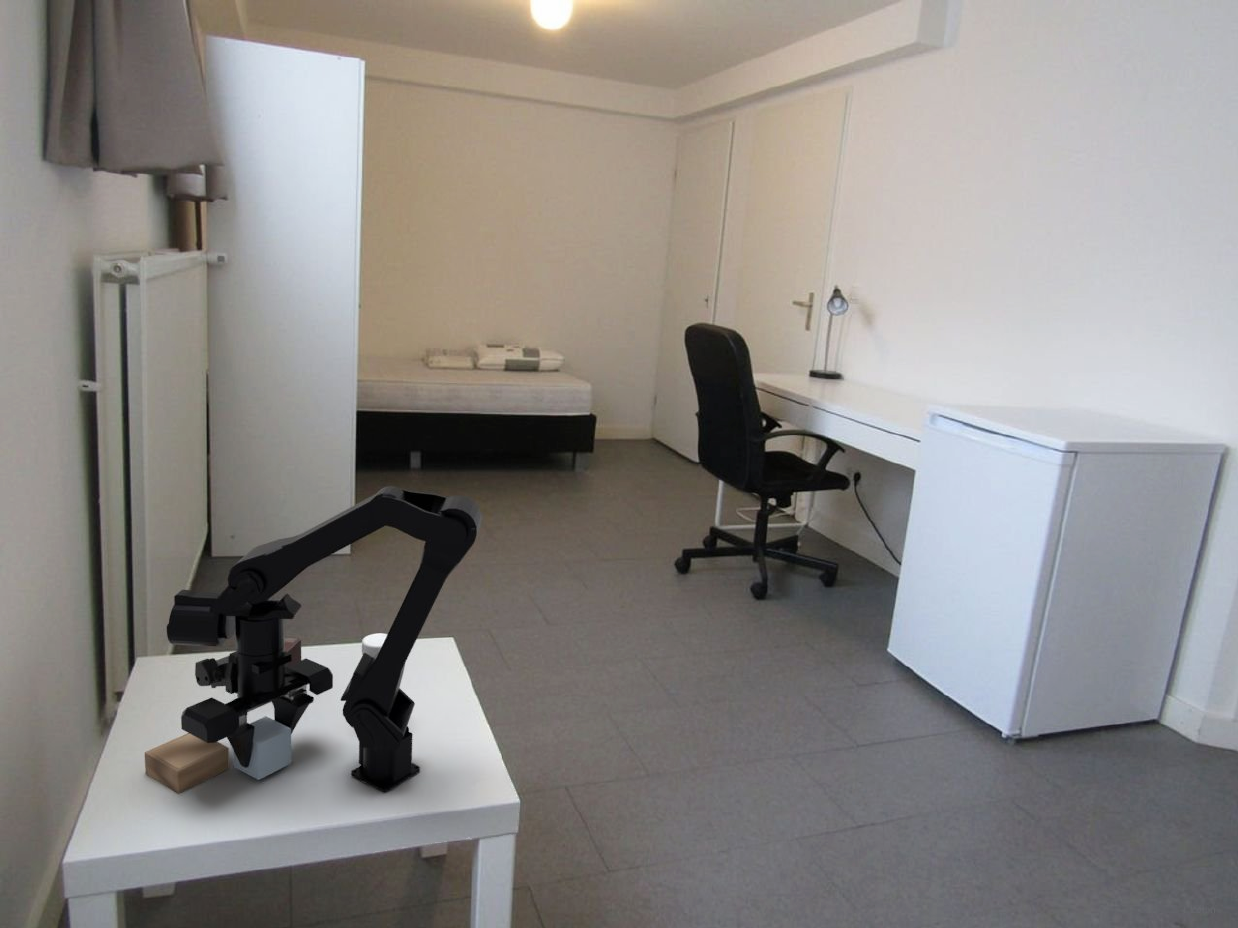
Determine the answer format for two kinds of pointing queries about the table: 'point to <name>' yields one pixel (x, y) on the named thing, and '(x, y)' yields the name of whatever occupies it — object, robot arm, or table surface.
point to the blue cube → (267, 748)
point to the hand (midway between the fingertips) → (262, 757)
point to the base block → (186, 762)
